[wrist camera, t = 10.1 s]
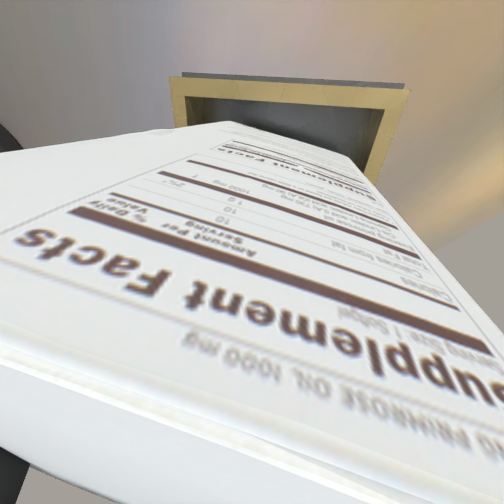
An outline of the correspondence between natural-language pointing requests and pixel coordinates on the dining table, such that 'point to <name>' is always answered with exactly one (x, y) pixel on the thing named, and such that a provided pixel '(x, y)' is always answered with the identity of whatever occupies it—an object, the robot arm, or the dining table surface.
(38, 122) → the dining table surface
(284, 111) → the gray square bin
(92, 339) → the supplement box
